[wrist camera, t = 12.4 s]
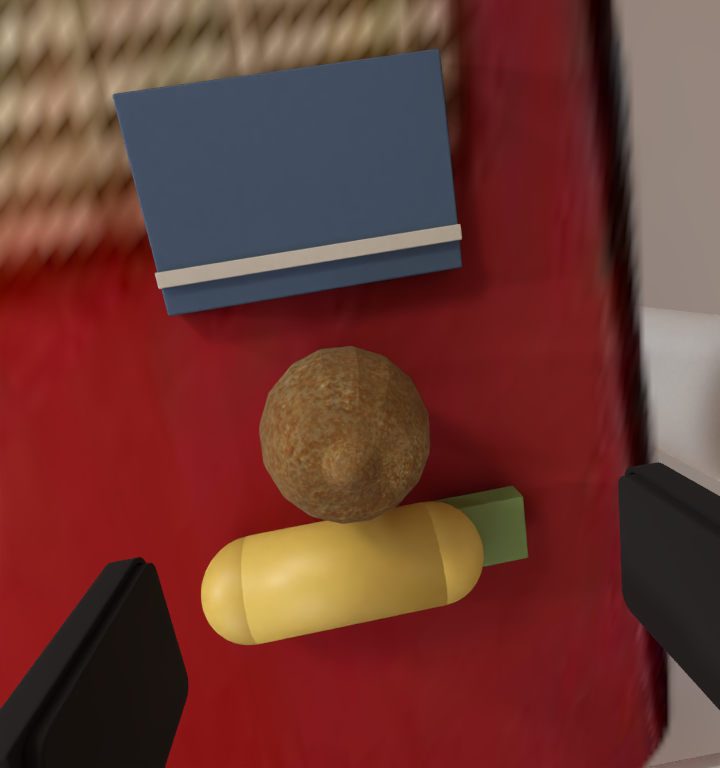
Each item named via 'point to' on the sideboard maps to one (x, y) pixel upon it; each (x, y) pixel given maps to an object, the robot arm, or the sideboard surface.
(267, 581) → the corn cob
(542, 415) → the sideboard surface
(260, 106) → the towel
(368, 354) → the fruit
